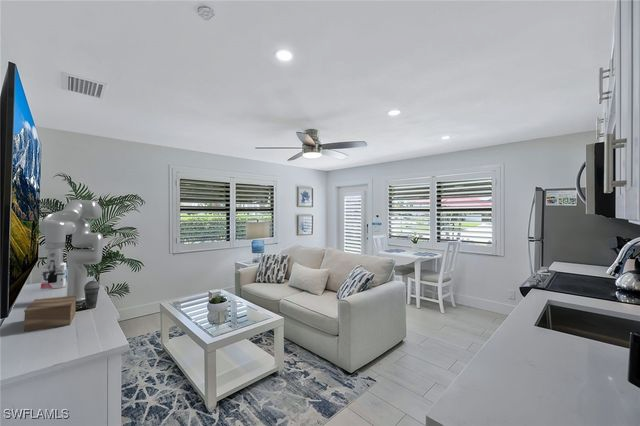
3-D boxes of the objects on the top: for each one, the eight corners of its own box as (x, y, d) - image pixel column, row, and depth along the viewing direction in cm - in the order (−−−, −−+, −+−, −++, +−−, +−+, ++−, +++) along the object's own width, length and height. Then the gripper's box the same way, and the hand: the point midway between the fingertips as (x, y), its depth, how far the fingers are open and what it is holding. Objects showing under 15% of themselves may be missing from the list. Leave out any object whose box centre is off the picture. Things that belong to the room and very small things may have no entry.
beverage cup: (86, 305, 166) (87, 272, 166) (100, 304, 169) (102, 271, 169) (80, 309, 159) (82, 275, 160) (96, 308, 162) (97, 274, 162)
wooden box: (34, 319, 144) (35, 301, 144) (75, 313, 153) (76, 297, 153) (23, 331, 129) (24, 312, 129) (69, 325, 138) (70, 307, 139)
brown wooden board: (34, 301, 144) (34, 299, 144) (76, 297, 153) (76, 295, 153) (24, 312, 129) (24, 310, 129) (71, 306, 139) (71, 304, 139)
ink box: (40, 289, 137) (41, 265, 137) (43, 286, 141) (44, 263, 141) (63, 287, 142) (64, 264, 142) (65, 285, 146) (66, 262, 146)
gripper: (62, 247, 137) (60, 284, 136) (68, 243, 151) (66, 277, 150) (40, 248, 132) (38, 286, 132) (49, 244, 146) (47, 278, 146)
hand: (53, 281), depth 141 cm, fingers closed on ink box, 5 cm apart
